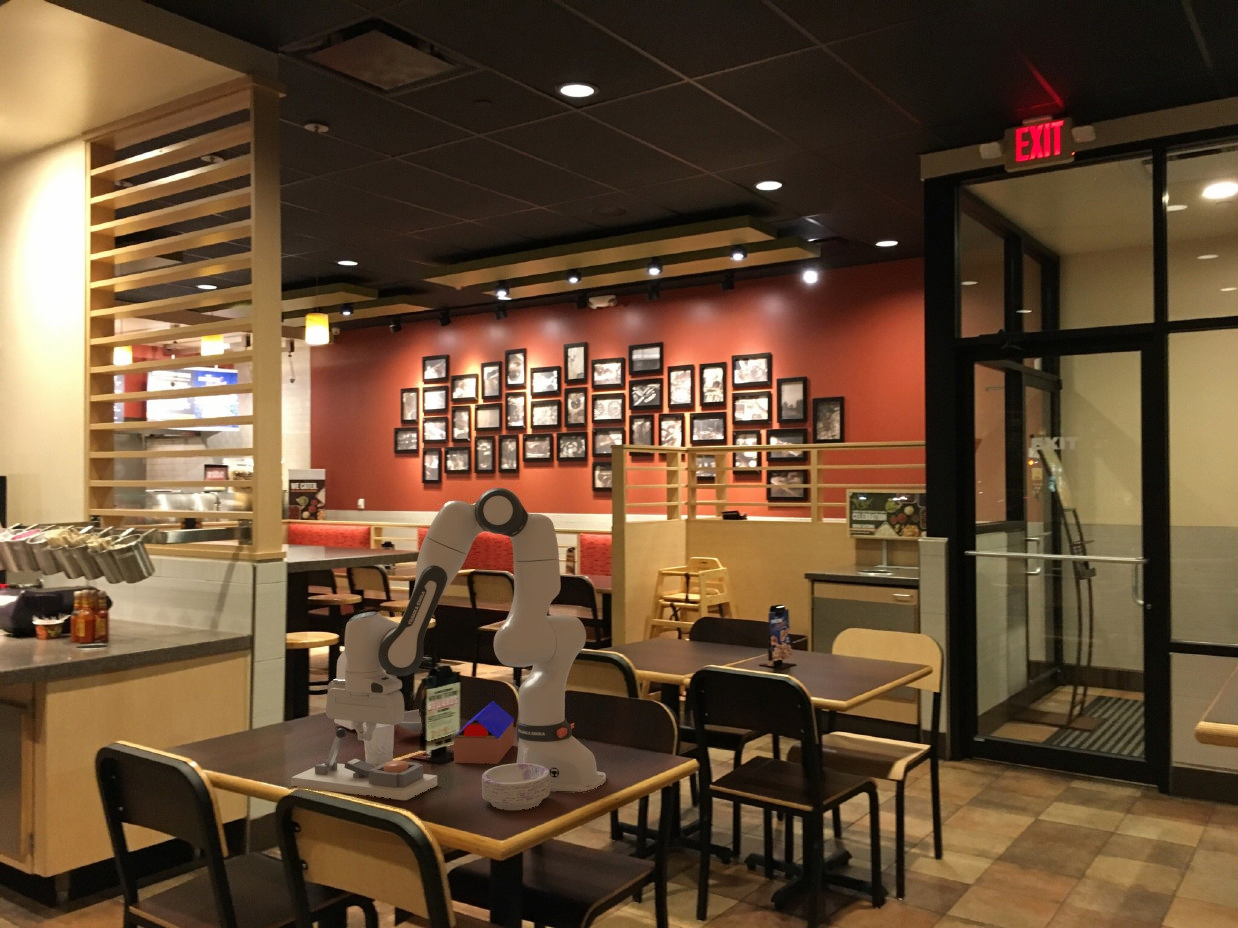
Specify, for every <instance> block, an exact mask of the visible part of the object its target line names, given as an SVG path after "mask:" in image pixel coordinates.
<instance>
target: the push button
mask: <svg viewBox="0 0 1238 928" xmlns="http://www.w3.org/2000/svg"><path fill="white" fill-rule="evenodd" d="M408 762H409V761H406V760H392V761H390V762H387V763H385V764H384V771H388V772H396V773H401V772H403V771H405V770H407V769H408Z"/></svg>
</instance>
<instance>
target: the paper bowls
mask: <svg viewBox="0 0 1238 928" xmlns="http://www.w3.org/2000/svg"><path fill="white" fill-rule="evenodd" d="M550 790H551V789H550V771H549V770H548V769H547V768H546V767H544V766H541V765H537V764H529V763H515V762H514V763H508V764H500V765H498V766H494V767H492V768H489V769H487V770H485V771H484V772H483V773H482V775H481V793H482V798H483V800H484V801H486V802H488V803H491V806H492V807H494V808H495V807H496V809H499V810H503V809H504V810H503V811H523V810H522V809H525V810H529V808H530V809H533V808H532V807H534V808H536V807H538V806H540V805H541V804H540V803H542V801H543V800H544V799H546V798H548V797H549V796H550V794H551V791H550ZM539 804H540V805H539ZM535 806H536V807H535Z"/></svg>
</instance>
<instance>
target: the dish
mask: <svg viewBox="0 0 1238 928" xmlns="http://www.w3.org/2000/svg"><path fill="white" fill-rule="evenodd" d="M398 725H399V726H400V727H401V728H402V729H404V730H406V731H409V732H413V733H420V734H421V729H422V723H421V717H420V716H419V709H415V710H414V709H413V710H409V711H405V716H404V719H403V721H402V722H401V723H399V724H398Z"/></svg>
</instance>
